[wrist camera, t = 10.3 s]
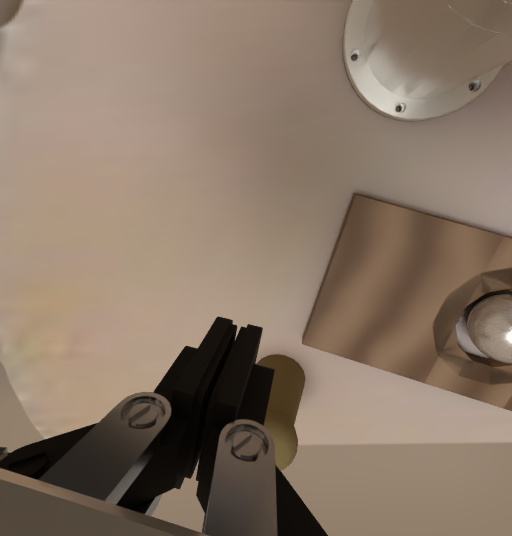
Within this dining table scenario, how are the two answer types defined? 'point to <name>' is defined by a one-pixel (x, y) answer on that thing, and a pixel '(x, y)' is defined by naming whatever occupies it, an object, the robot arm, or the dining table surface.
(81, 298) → the dining table surface
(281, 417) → the cork
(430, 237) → the board
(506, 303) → the ball
